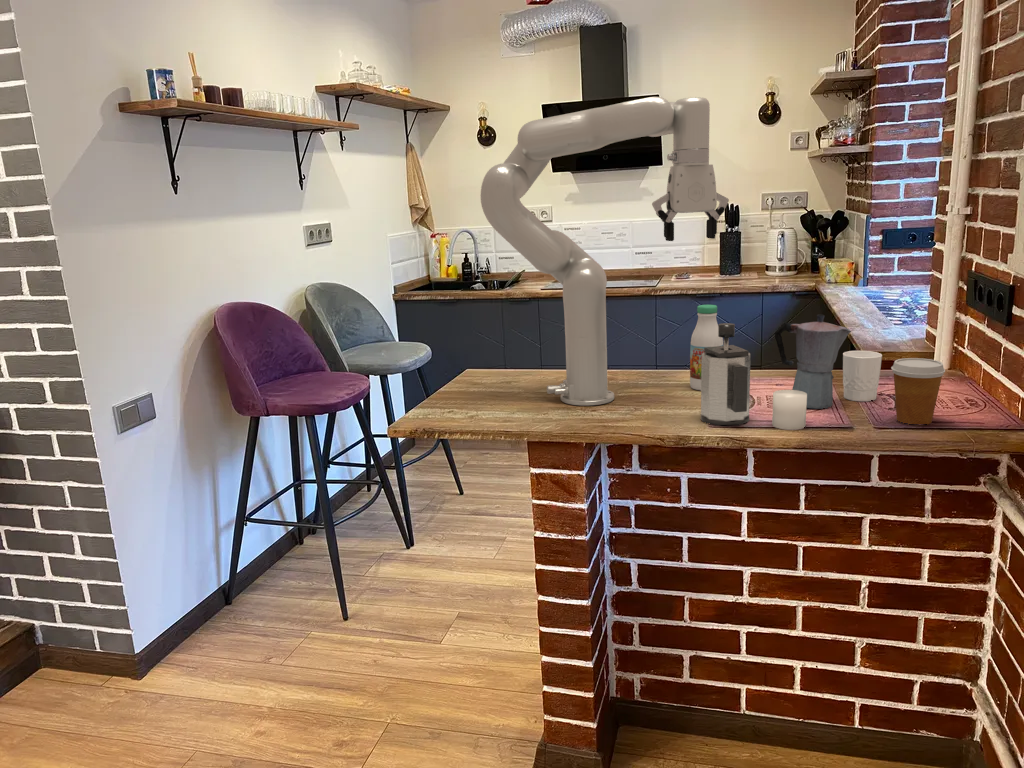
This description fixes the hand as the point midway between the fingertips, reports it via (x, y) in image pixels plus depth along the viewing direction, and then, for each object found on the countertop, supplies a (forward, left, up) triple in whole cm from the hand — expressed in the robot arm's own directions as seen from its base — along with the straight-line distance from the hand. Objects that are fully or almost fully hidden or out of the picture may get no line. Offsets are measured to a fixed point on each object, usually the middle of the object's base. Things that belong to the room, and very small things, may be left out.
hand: (690, 239), depth 175 cm
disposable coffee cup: (+34, -32, -36) cm, 59 cm away
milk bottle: (+8, +8, -36) cm, 38 cm away
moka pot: (+22, -14, -36) cm, 45 cm away
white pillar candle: (+10, -26, -36) cm, 46 cm away
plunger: (0, -18, -30) cm, 35 cm away
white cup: (+35, -13, -36) cm, 52 cm away
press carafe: (0, -19, -36) cm, 41 cm away
